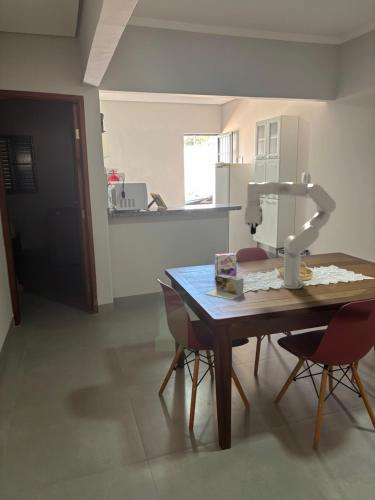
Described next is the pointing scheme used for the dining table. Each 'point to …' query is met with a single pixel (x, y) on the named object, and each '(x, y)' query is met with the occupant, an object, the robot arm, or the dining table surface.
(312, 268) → the dining table surface
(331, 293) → the dining table surface
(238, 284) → the coffee box
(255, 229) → the robot arm
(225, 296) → the mat
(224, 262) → the candy box
